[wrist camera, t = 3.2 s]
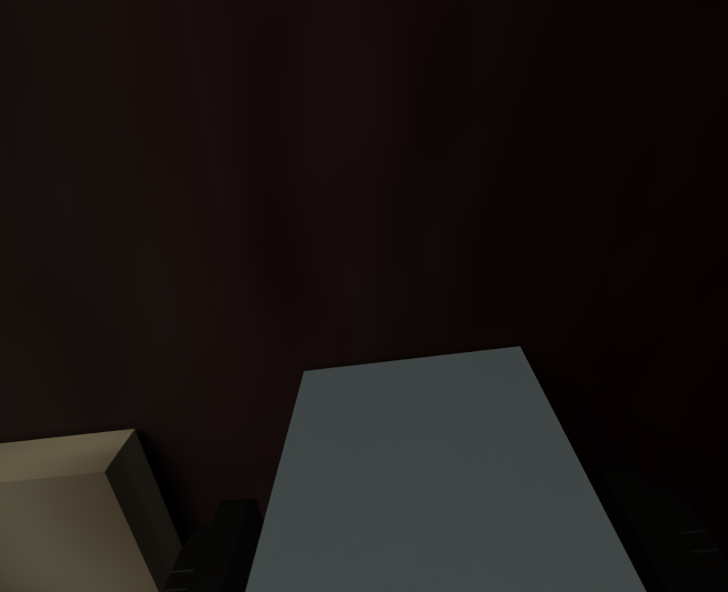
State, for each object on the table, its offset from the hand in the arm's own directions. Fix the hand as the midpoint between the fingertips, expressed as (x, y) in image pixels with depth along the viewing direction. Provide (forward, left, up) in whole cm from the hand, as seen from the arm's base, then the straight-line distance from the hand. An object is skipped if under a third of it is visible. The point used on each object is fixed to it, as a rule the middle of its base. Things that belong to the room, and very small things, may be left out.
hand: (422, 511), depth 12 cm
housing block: (0, 0, -2) cm, 2 cm away
